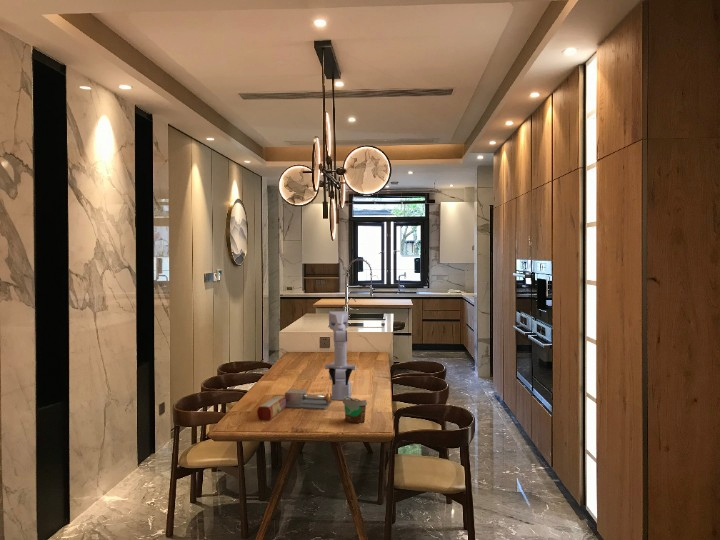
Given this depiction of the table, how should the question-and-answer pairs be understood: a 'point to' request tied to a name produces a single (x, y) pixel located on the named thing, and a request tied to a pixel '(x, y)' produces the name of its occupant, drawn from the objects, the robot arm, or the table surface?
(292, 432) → the table surface
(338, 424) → the table surface
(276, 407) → the snack package
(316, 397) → the steel shaft
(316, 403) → the slate base board
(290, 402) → the bearing housing
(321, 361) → the table surface
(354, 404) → the food container
